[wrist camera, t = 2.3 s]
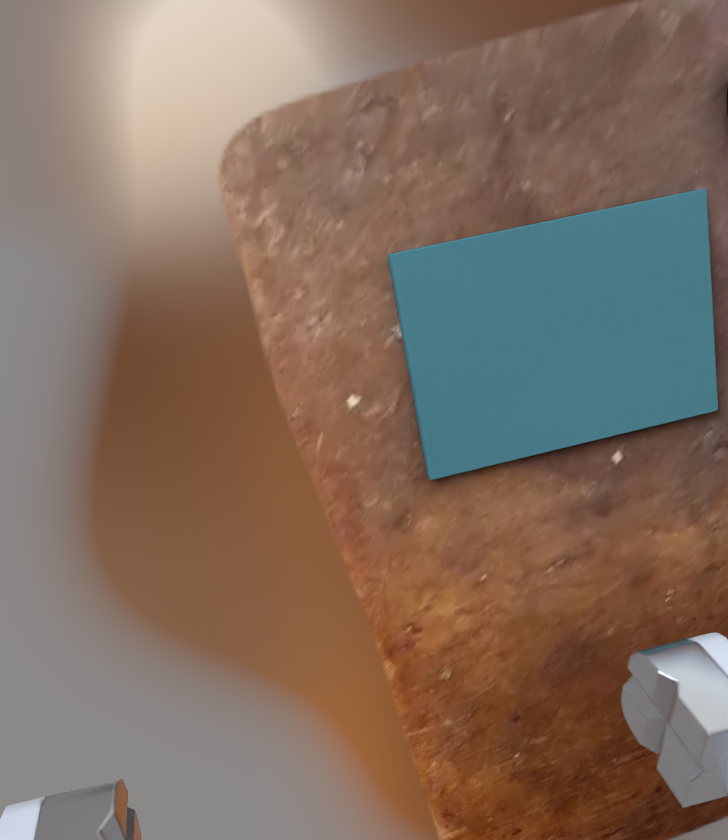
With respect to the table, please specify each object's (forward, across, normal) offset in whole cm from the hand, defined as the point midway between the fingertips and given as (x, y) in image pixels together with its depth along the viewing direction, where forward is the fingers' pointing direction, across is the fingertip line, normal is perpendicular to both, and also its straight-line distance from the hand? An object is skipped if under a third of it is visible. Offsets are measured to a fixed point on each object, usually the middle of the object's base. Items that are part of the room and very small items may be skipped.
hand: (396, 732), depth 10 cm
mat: (+18, -13, +2) cm, 22 cm away
